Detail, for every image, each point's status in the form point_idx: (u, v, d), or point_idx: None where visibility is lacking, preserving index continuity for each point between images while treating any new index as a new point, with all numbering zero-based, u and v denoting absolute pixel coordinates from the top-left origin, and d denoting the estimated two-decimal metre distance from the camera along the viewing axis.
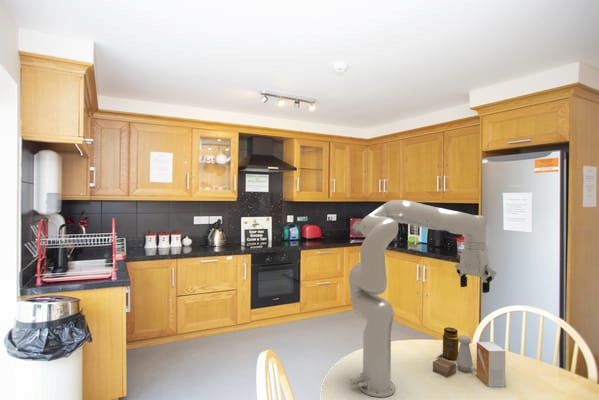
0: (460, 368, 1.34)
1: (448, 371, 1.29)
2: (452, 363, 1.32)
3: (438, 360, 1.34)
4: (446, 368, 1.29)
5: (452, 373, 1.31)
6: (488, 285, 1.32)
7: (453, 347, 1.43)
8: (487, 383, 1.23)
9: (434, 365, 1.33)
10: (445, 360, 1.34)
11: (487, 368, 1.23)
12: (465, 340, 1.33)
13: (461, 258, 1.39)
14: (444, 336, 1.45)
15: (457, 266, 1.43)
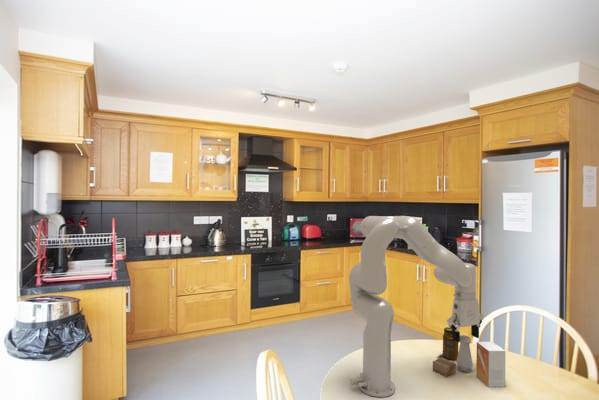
0: (460, 368, 1.34)
1: (447, 371, 1.29)
2: (452, 363, 1.32)
3: (438, 360, 1.34)
4: (445, 368, 1.29)
5: (452, 373, 1.31)
6: None
7: (453, 347, 1.43)
8: (487, 383, 1.23)
9: (434, 365, 1.33)
10: (445, 360, 1.34)
11: (487, 368, 1.23)
12: (465, 340, 1.33)
13: (462, 311, 1.31)
14: (444, 336, 1.45)
15: (451, 321, 1.32)
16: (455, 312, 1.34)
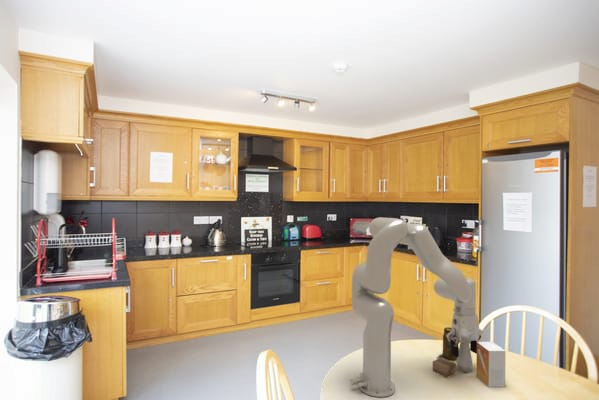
0: (460, 368, 1.34)
1: (447, 371, 1.29)
2: (452, 363, 1.32)
3: (438, 360, 1.34)
4: (445, 368, 1.29)
5: (452, 373, 1.31)
6: None
7: None
8: (487, 383, 1.23)
9: (434, 365, 1.33)
10: (445, 360, 1.34)
11: (487, 368, 1.23)
12: None
13: (462, 326, 1.31)
14: (444, 336, 1.45)
15: (450, 336, 1.32)
16: (454, 327, 1.33)
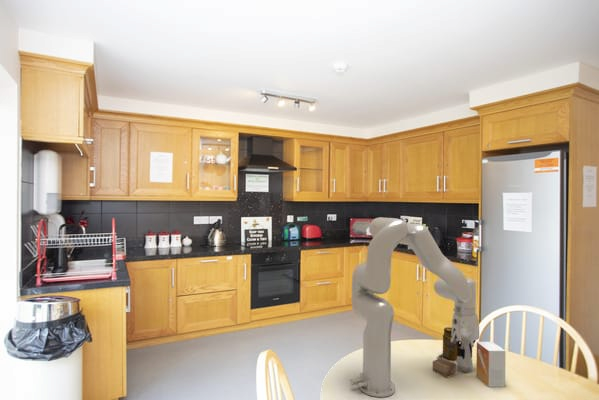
0: (460, 368, 1.34)
1: (447, 371, 1.29)
2: (452, 363, 1.32)
3: (438, 360, 1.34)
4: (445, 368, 1.29)
5: (452, 373, 1.31)
6: None
7: (453, 347, 1.43)
8: (487, 383, 1.23)
9: (434, 364, 1.33)
10: (445, 360, 1.34)
11: (487, 368, 1.23)
12: None
13: (462, 326, 1.31)
14: (444, 336, 1.45)
15: (455, 340, 1.33)
16: (454, 327, 1.33)
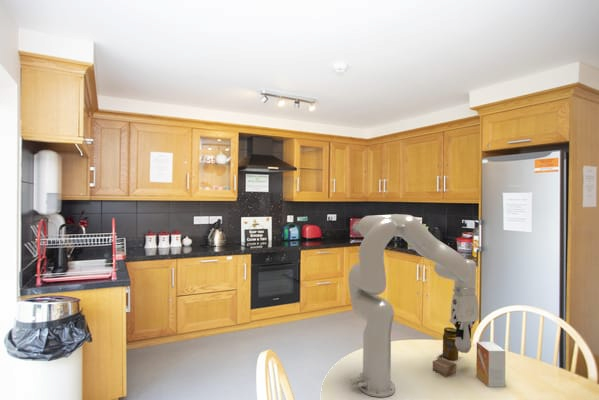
0: (458, 349, 1.34)
1: (447, 371, 1.29)
2: (452, 363, 1.32)
3: (438, 360, 1.34)
4: (445, 368, 1.29)
5: (452, 373, 1.31)
6: None
7: (453, 347, 1.43)
8: (487, 383, 1.23)
9: (434, 364, 1.33)
10: (445, 360, 1.34)
11: (487, 368, 1.23)
12: None
13: (461, 307, 1.31)
14: (444, 336, 1.45)
15: (454, 320, 1.33)
16: (454, 307, 1.33)
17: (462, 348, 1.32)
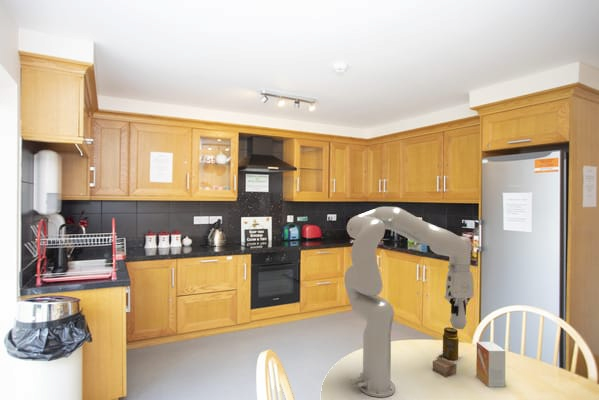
0: (454, 325, 1.34)
1: (446, 371, 1.29)
2: (452, 363, 1.32)
3: (438, 360, 1.35)
4: (444, 368, 1.29)
5: (452, 373, 1.30)
6: None
7: (453, 347, 1.43)
8: (487, 383, 1.23)
9: (434, 364, 1.33)
10: (446, 360, 1.34)
11: (487, 368, 1.23)
12: None
13: (456, 283, 1.32)
14: (444, 336, 1.45)
15: (449, 297, 1.33)
16: (449, 284, 1.34)
17: (457, 324, 1.33)
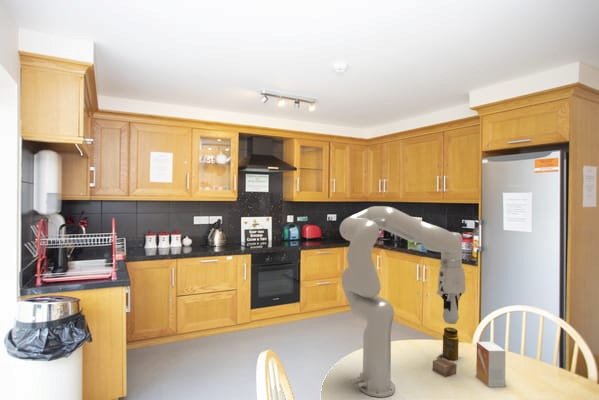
0: (446, 320, 1.35)
1: (446, 370, 1.29)
2: (452, 363, 1.32)
3: (438, 360, 1.35)
4: (444, 368, 1.29)
5: (452, 373, 1.30)
6: None
7: (453, 347, 1.43)
8: (487, 383, 1.23)
9: (434, 364, 1.33)
10: (446, 360, 1.34)
11: (487, 368, 1.23)
12: None
13: (448, 278, 1.33)
14: (444, 336, 1.45)
15: (441, 292, 1.34)
16: (441, 280, 1.35)
17: (449, 319, 1.34)
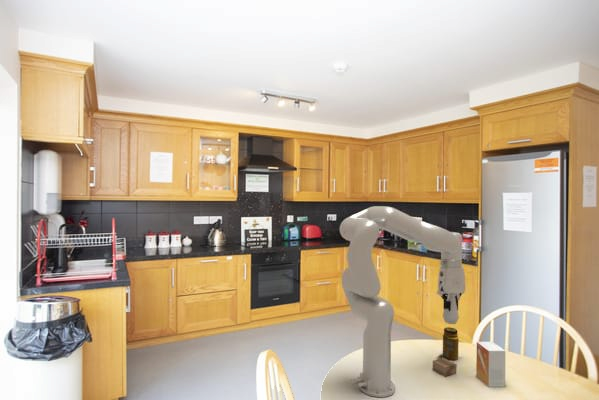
0: (446, 320, 1.35)
1: (446, 370, 1.29)
2: (452, 364, 1.32)
3: (438, 360, 1.35)
4: (444, 368, 1.29)
5: (451, 373, 1.30)
6: None
7: (453, 347, 1.43)
8: (487, 383, 1.23)
9: (434, 364, 1.34)
10: (446, 360, 1.34)
11: (487, 368, 1.23)
12: None
13: (448, 278, 1.33)
14: (444, 336, 1.45)
15: (441, 292, 1.34)
16: (441, 280, 1.35)
17: (449, 319, 1.34)
